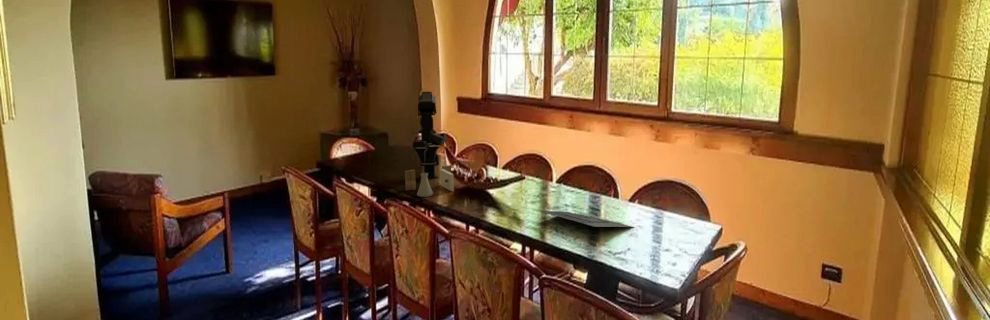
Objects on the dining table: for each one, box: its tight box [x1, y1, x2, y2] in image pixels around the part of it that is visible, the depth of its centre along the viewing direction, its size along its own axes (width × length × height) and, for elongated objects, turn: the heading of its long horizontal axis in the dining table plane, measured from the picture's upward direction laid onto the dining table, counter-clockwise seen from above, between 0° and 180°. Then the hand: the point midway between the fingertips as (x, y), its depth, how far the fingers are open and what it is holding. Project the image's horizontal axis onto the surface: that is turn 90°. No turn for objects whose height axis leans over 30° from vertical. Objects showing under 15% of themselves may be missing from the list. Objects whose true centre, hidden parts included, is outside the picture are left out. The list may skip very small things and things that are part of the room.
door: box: [439, 168, 455, 192], centre depth 286 cm, size 12×3×8 cm, turn 28°
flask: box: [416, 172, 434, 198], centre depth 275 cm, size 7×7×10 cm
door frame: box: [404, 164, 453, 191], centre depth 289 cm, size 2×23×9 cm, turn 118°
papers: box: [540, 210, 633, 228], centre depth 235 cm, size 24×30×4 cm
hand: (428, 162), depth 282 cm, fingers open, 9 cm apart
